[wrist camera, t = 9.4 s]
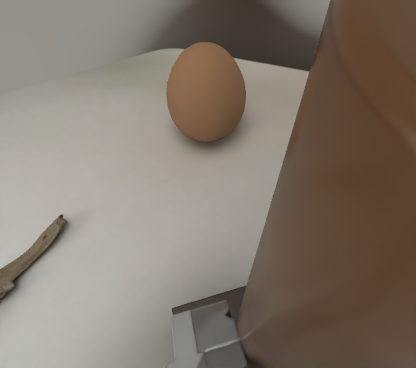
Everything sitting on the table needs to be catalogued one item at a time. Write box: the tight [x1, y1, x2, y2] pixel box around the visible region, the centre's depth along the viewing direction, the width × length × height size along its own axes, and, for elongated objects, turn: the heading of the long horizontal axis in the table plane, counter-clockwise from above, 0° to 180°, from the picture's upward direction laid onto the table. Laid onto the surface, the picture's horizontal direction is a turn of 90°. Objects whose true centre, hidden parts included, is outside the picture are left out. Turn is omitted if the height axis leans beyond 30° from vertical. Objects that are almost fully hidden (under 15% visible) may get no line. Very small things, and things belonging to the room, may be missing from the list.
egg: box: [166, 42, 246, 142], centre depth 32 cm, size 8×8×11 cm
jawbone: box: [0, 215, 67, 299], centre depth 26 cm, size 9×20×2 cm, turn 172°
